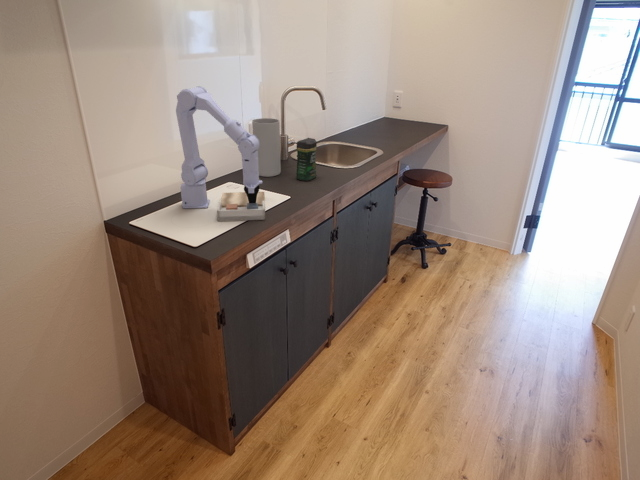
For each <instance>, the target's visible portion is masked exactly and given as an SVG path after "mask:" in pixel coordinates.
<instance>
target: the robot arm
mask: <svg viewBox="0 0 640 480" xmlns="http://www.w3.org/2000/svg"><path fill="white" fill-rule="evenodd" d="M176 99H177V103H176V107H175V114H176V119H177V124H178V128H179V129H178V130H179V135H180V141H181V145H182V151H183V156H184V161H183V163H182V164H181V173H180V179H181V180H182V182H183V183H181V184H180V196H181V202H182V203H181V204H182V209H201V208H202V209H205V208H206V209H207V208H209V206H210V205H209V204H210V201H211V200H210V199H208V192H207V184H206V180H207V179H206V178H207V177H208V175H209V170H208V168H207V166H206V164H205V160H204V159H203V158H201V157H200V151H199V145H198V139H197V134H196V128H195V121H194V114H195V113H196V112H197V110H198V111H199V110H200V111H206V112H207V113H208V114H210V116H211V117H213V118H214V119H215V120H216V121H217V122H218V123H220V124H221V125H222V126H223V132H224V133H225V134H226V135H227V136H228V137H229V139H232V141H233V142H234V143H235V144H236V145H237V148H238V151H239V153H240V155H241V163H242V164H241V165H242V179H243V181H242V184H243V192H245V193H246V194H247V197H248V201H249V203H256V198H257V194H258V192H260V185H262V184H263V180H261V179H260V176H259V167H258V151H256V150H258V149H259V147H260V141H259V139H258V138H257V136H255V135H253V134H251V132H249V131H247V129H245V128H244V127H243V125H242V123H241V121H239V120H238V121H237V120H236V119H231V118H230V117H229V115H228V114H226V112H225V111H224V110H223V109H222V108H221V107H220V106H219V105H218V103H217V102H216V101H215V99H214V98H213V96H212V94H211V93H210V92H208V90H207V89H205V87H202V86H200V85H199V86H196V87H192V88H184V89H182V90H180V92H178V94H177V95H176Z"/></svg>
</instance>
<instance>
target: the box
mask: <svg viewBox="0 0 640 480" xmlns="http://www.w3.org/2000/svg"><path fill="white" fill-rule="evenodd" d="M265 201H266V200H265ZM265 201H262V204H263V206H258V209H247V207H238V210H226V207H222V204H221V202H220V201H219V202H218V205H217V210H216V213H217V222H230V221H231V222H232V221H233V222H236V221H238V222H239V221H260V220H261V221H262V220H263V221H264V220H266V206H265V205H266V204H265Z"/></svg>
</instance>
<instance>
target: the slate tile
mask: <svg viewBox="0 0 640 480" xmlns="http://www.w3.org/2000/svg"><path fill="white" fill-rule="evenodd" d="M247 209H258V203H247Z"/></svg>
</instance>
